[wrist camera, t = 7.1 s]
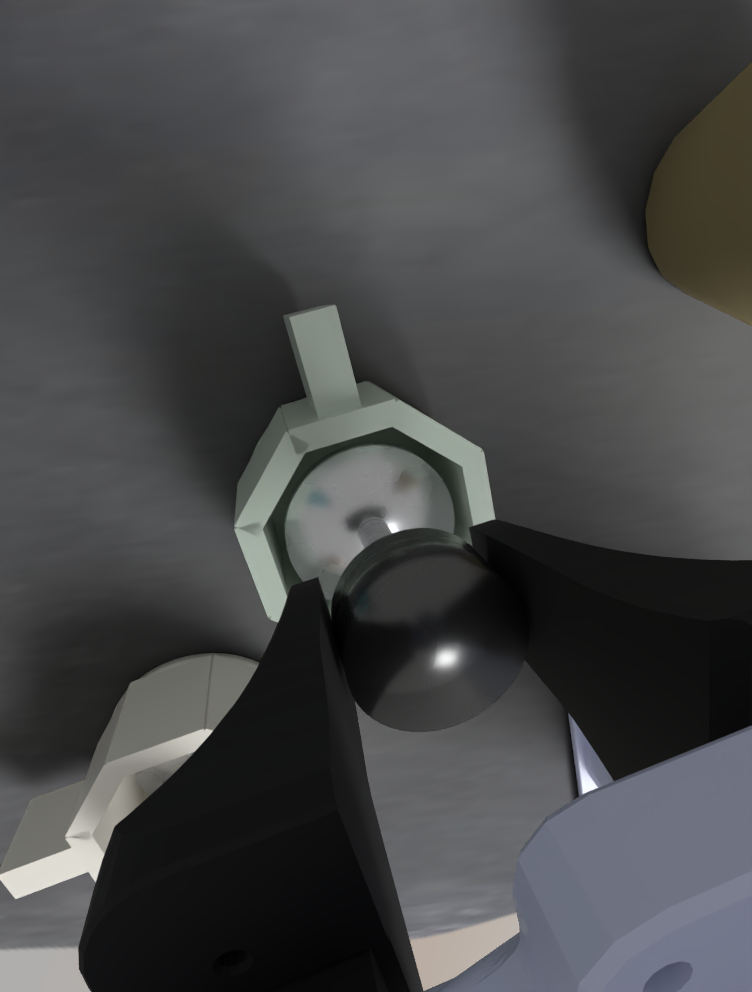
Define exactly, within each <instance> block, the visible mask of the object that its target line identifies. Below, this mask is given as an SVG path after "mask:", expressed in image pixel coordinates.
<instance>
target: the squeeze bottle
mask: <svg viewBox="0 0 752 992" xmlns="http://www.w3.org/2000/svg"><path fill="white" fill-rule="evenodd" d="M645 215H646V228H647V240H648V248H649V250H650V253H651V255H652V257H653V259H654V261H655V263H656V265H657V267H658V269H659V271H660V273H661V275H662V276H663V277H664V278H665V279H666V280H668V281H669V282H670V283H672V284H673V285H674V286H675V287H677V288H678V289H679V290H681V291H682V292H683V293H685V294H687V295H689V296H691V297H693V298H695V299H697V300H699V301H702V302H704V303H706V304H708V305H710V306H712V307H714V308H716V309H718V310H720V311H722V312H724V313H726V314H728V315H730V316H732V317H734V318H736V319H738V320H740V321H742V322H744V323H746V324H748V325H750V326H752V62H751V63H750V64H749V65H748V66H747V67H746V68H745V69H744V70H743V71H742V72H741V73H740V74H739V75H738V76H737V77H736V78H735V79H733V80H732V81H731V82H730V83H729V84H728V85H727V86H726V87H725V88H724V89H723V90H722V91H721V92H720V93H719V94H718V95H717V96H716V97H715V98H714V99H713V100H712V101H711V102H710V103H709V104H708V105H707V106H706V107H705V108H704V109H703V110H702V111H701V112H700V113H699V114H698V115H697V116H696V117H695V118H694V119H693V120H692V121H691V122H690V123H689V124H688V125H687V126H686V127H685V128H683V129H682V130H681V131H680V132H679V133H678V134H677V135H676V136H675V137H674V139H673V141H672V142H671V144H670V146H669V148H668V149H667V151H666V153H665V155H664V156H663V158H662V160H661V161H660V163H659V165H658V167H657V168H656V170H655V172H654V175H653V180H652V184H651V188H650V193H649V197H648V201H647V206H646V210H645Z"/></svg>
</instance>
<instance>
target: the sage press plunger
mask: <svg viewBox="0 0 752 992" xmlns="http://www.w3.org/2000/svg"><path fill="white" fill-rule="evenodd" d="M454 524H455V515H454V507H453V503H452V499H451V495H450V493H449V491H448V489H447V486H446V485H445V483H444V482H443V480H442V478H441V477H440V476H439V475H438V473H437V472H436V471H435V470H434V469H433V468H432V467H431V466H430V465H428V464H427V463H426V462H425V461H424V460H423V459H422V458H420V457H419V456H417V455H416V454H414V453H413V452H411V451H409V450H407V449H405V448H403V447H400V446H396V445H393V444H388V443H382V442H365V443H357V444H353V445H348V446H345V447H343V448H340V449H337V450H335V451H333V452H331V453H329V454H327V455H326V456H324V457H323V458H321V459H320V460H319V461H317V462H316V463H315V464H314V465H313V466H311V467H310V468H309V469H308V470H307V471H306V473H305V474H304V475H303V476H302V477H301V479H300V480H299V482H298V483H297V485H296V486H295V488H294V490H293V492H292V494H291V496H290V498H289V502H288V505H287V508H286V513H285V522H284V531H285V540H286V546H287V551H288V555H289V558H290V561H291V563H292V565H293V567H294V569H295V571H296V572H297V574H298V576H299V577H300V578H301V579H302V581H303V582H304V581H307V580H310V579H313V578H316V577H318V578H319V581H320V584H321V587H322V590H323V593H324V596H325V598H326V599H328V600H330V601H332V605H331V618H332V625H333V628H334V632H335V636H336V640H337V644H338V648H339V652H340V656H341V660H342V664H343V668H344V672H345V675H346V679H347V683H348V687H349V689H350V692H351V694H352V696H353V698H354V699H355V701H356V702H357V704H358V705H359V706H360V708H361V709H362V710H363V711H364V712H365V713H366V714H368V715H369V716H370V717H371V718H373V719H374V720H376V721H378V722H379V723H381V724H383V725H386V726H388V727H391V728H394V729H398V730H402V731H410V732H427V731H436V730H441V729H445V728H449V727H452V726H455V725H458V724H460V723H463V722H465V721H467V720H469V719H471V718H473V717H475V716H476V715H478V714H480V713H481V712H483V711H484V710H486V709H487V708H488V707H490V706H491V705H492V704H493V703H494V702H496V701H497V700H498V699H499V698H500V697H501V696H502V695H503V694H504V693H505V691H506V690H507V689H508V688H509V686H510V685H511V684H512V682H513V681H514V679H515V678H516V676H517V675H518V673H519V671H520V669H521V667H522V664H523V662H524V659H525V656H526V653H527V648H528V643H529V624H528V619H527V614H526V611H525V609H524V606H523V604H522V602H521V601H520V599H519V597H518V596H517V594H516V593H515V592H514V591H513V590H512V589H511V588H510V586H509V585H508V584H507V583H506V582H505V581H504V580H503V579H502V578H501V577H500V576H499V575H498V574H497V572H496V571H495V570H494V569H493V568H492V567H491V566H490V565H489V564H488V563H487V562H486V561H485V560H484V559H483V557H482V556H481V555H480V554H479V553H478V552H477V551H476V550H475V549H474V548H473V547H472V546H471V545H470V544H469V543H467V542H466V541H465V540H463V539H462V538H460V537H458V536H457V535H454V534H453V533H454Z"/></svg>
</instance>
